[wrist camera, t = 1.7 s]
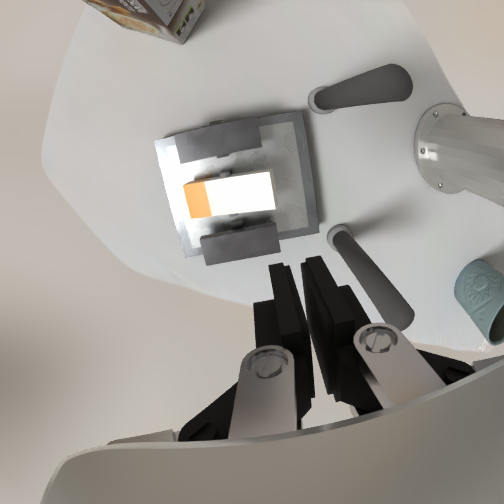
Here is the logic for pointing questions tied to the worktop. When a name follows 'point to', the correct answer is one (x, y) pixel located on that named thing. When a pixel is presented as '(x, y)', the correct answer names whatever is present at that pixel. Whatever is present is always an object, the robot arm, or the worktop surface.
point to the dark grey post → (363, 90)
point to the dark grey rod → (371, 279)
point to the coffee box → (153, 16)
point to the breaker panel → (237, 161)
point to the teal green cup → (483, 298)
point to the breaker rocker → (231, 194)
